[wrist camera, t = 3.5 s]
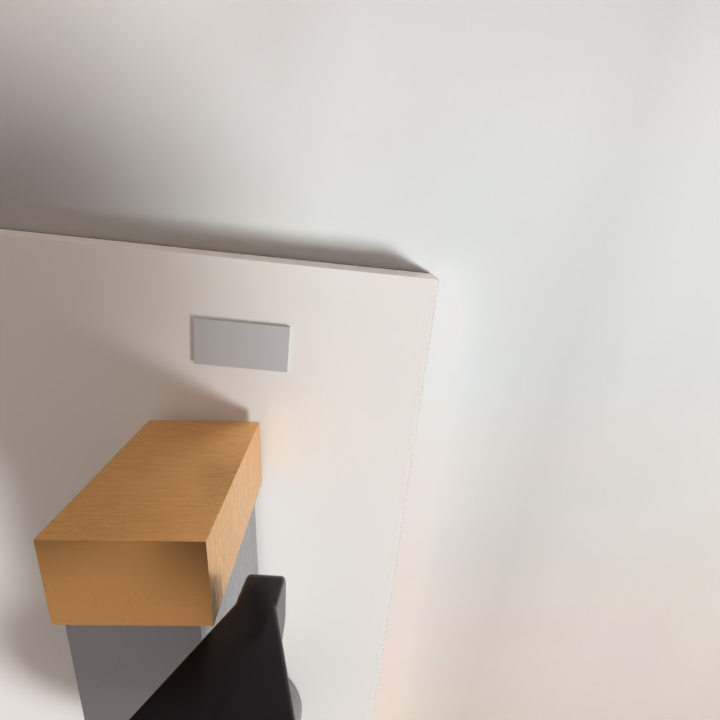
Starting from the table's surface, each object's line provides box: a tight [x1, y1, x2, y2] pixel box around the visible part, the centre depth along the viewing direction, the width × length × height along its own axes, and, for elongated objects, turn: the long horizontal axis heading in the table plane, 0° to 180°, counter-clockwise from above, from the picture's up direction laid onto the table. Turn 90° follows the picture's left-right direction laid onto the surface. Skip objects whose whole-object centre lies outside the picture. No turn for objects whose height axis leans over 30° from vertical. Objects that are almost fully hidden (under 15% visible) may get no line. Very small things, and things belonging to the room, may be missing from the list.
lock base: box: [0, 229, 439, 720], centre depth 13 cm, size 20×14×1 cm
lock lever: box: [33, 420, 302, 720], centre depth 10 cm, size 10×4×4 cm, turn 179°
